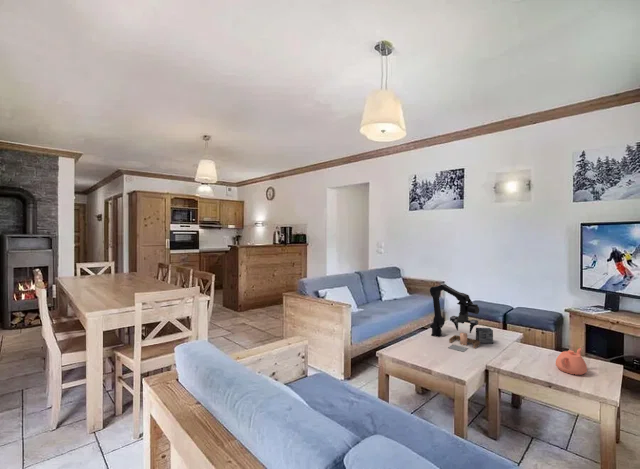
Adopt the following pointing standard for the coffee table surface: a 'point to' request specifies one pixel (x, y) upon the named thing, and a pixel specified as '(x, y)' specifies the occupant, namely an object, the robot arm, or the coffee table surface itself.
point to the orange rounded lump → (571, 362)
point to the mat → (458, 348)
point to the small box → (484, 335)
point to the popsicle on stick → (463, 338)
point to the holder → (475, 342)
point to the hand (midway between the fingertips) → (463, 331)
